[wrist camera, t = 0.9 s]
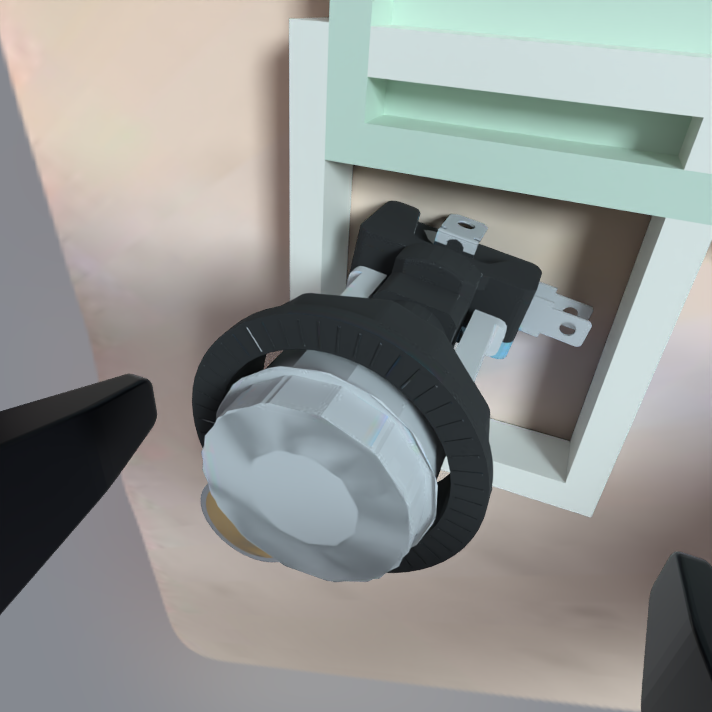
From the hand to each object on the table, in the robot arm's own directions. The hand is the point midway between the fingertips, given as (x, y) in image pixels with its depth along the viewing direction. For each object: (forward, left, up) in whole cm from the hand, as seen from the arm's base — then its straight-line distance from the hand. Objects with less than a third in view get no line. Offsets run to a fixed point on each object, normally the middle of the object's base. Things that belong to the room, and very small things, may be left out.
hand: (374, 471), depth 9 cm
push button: (0, 0, -9) cm, 9 cm away
